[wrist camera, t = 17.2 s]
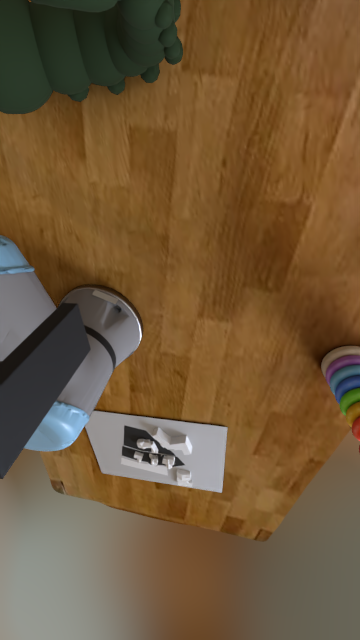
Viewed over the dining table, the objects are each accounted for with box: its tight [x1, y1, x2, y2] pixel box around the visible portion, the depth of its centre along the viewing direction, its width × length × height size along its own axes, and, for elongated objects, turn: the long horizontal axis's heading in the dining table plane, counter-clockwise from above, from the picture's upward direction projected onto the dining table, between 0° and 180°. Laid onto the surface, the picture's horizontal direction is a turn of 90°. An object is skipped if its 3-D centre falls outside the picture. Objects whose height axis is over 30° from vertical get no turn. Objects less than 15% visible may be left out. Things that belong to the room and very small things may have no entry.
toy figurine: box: [0, 0, 183, 114], centre depth 23 cm, size 9×19×25 cm
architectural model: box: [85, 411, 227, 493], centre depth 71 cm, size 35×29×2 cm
